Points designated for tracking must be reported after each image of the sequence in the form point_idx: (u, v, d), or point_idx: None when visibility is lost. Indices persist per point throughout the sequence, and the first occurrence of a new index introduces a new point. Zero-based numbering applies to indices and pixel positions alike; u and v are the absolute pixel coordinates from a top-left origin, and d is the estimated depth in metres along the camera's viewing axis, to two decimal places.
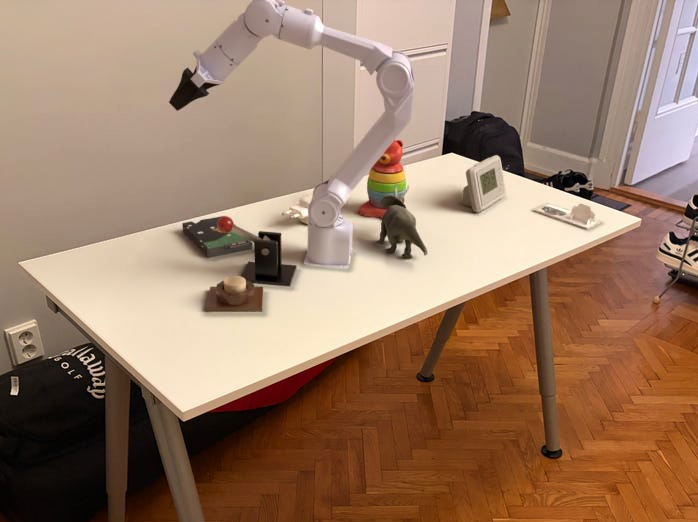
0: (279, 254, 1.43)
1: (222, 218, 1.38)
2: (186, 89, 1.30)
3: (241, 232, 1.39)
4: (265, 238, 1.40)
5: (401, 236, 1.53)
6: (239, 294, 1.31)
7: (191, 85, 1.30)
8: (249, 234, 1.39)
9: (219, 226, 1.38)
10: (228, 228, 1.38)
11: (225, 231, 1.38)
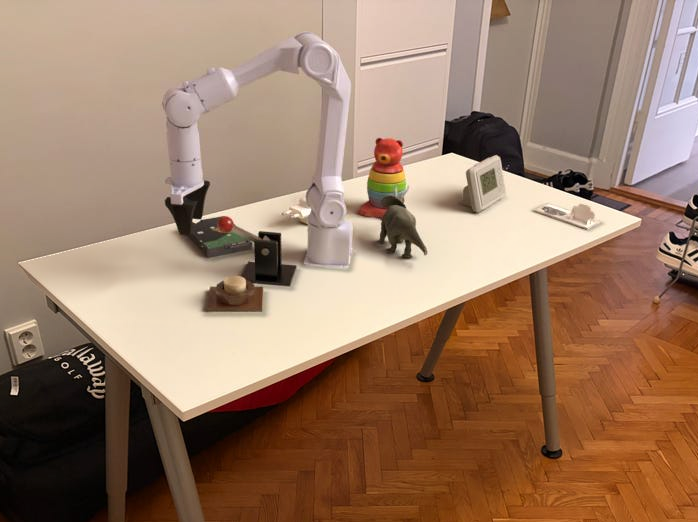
0: (279, 254, 1.43)
1: (222, 218, 1.38)
2: (180, 213, 1.34)
3: (241, 232, 1.39)
4: (265, 238, 1.40)
5: (401, 236, 1.53)
6: (239, 294, 1.31)
7: (180, 207, 1.33)
8: (249, 234, 1.39)
9: (219, 226, 1.38)
10: (228, 228, 1.38)
11: (225, 231, 1.38)
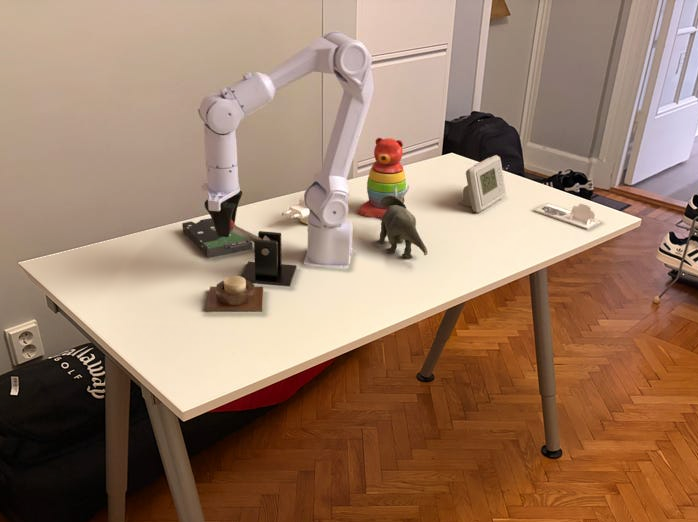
0: (279, 254, 1.43)
1: None
2: (219, 215, 1.35)
3: (241, 232, 1.39)
4: (265, 238, 1.40)
5: (401, 236, 1.53)
6: (239, 294, 1.31)
7: (219, 209, 1.35)
8: (249, 234, 1.39)
9: None
10: None
11: None
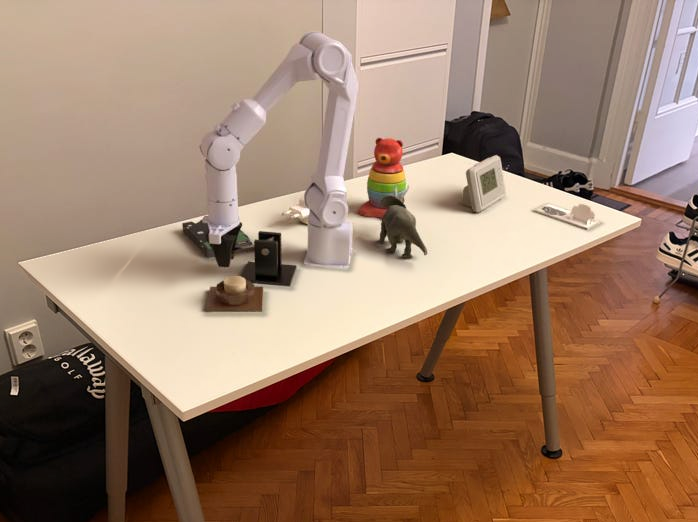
0: (279, 254, 1.43)
1: None
2: (220, 247, 1.39)
3: (240, 250, 1.41)
4: None
5: (401, 236, 1.53)
6: (239, 294, 1.31)
7: None
8: (247, 247, 1.41)
9: None
10: None
11: None
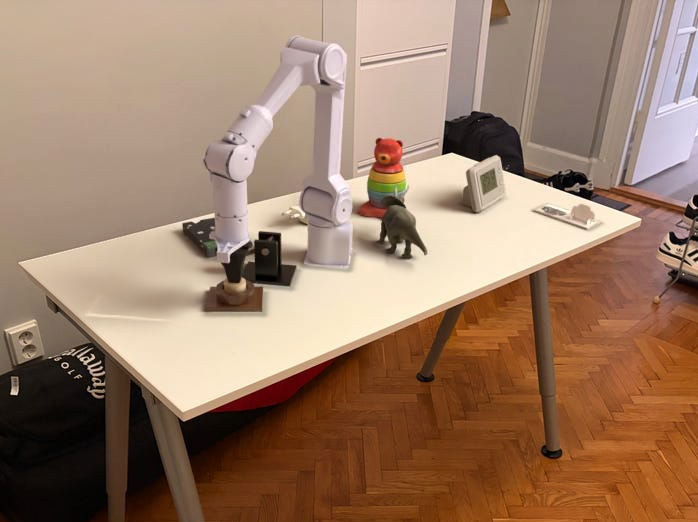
0: (279, 254, 1.43)
1: None
2: (230, 262, 1.29)
3: None
4: None
5: (401, 236, 1.53)
6: (239, 294, 1.31)
7: (230, 255, 1.29)
8: (248, 250, 1.41)
9: None
10: None
11: None
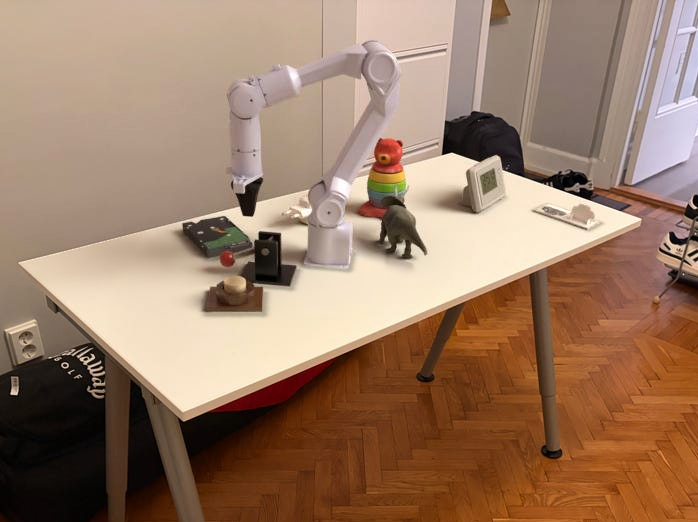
0: (279, 254, 1.43)
1: (220, 256, 1.42)
2: (244, 196, 1.41)
3: (241, 254, 1.41)
4: None
5: (401, 236, 1.53)
6: (239, 294, 1.31)
7: (245, 190, 1.40)
8: (248, 250, 1.41)
9: (223, 264, 1.42)
10: (229, 259, 1.42)
11: (230, 263, 1.42)
